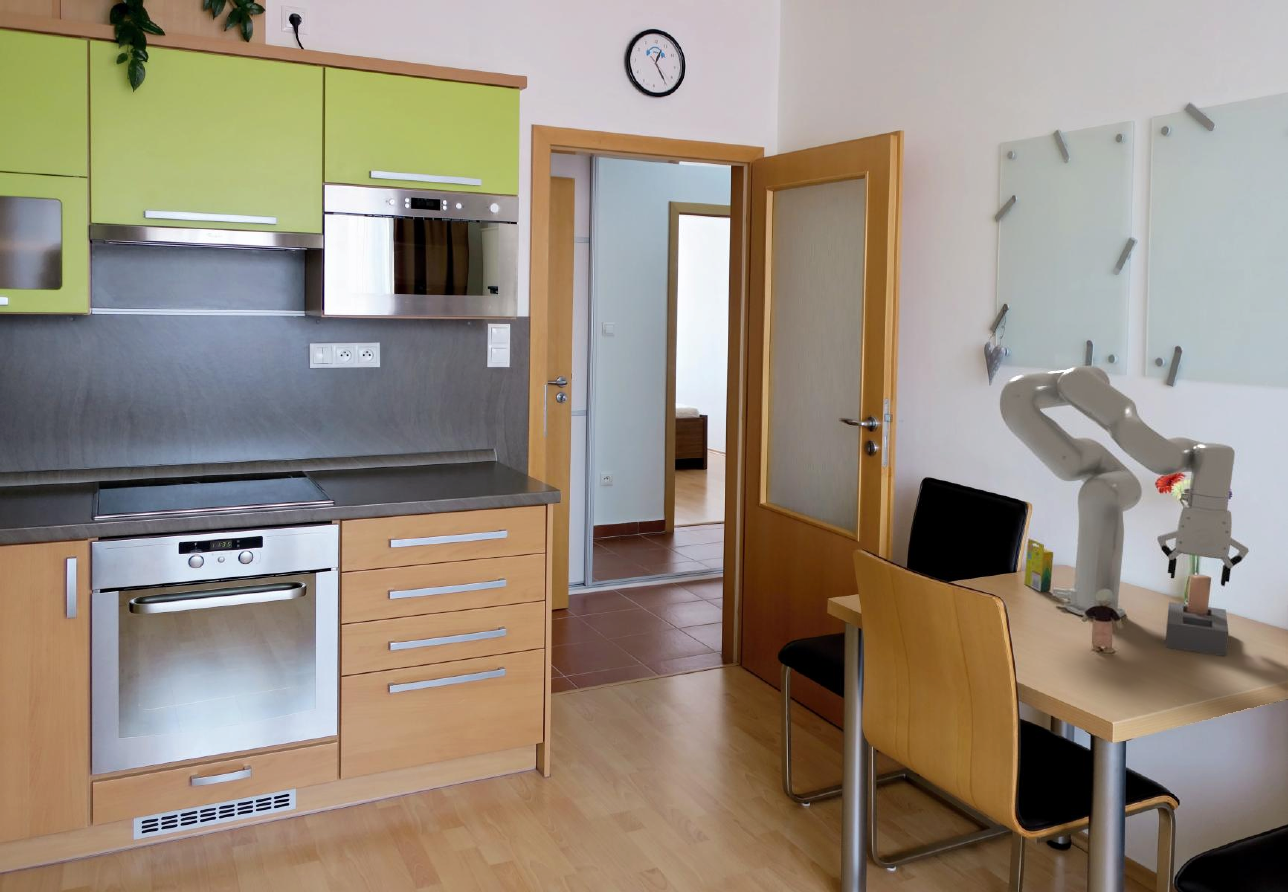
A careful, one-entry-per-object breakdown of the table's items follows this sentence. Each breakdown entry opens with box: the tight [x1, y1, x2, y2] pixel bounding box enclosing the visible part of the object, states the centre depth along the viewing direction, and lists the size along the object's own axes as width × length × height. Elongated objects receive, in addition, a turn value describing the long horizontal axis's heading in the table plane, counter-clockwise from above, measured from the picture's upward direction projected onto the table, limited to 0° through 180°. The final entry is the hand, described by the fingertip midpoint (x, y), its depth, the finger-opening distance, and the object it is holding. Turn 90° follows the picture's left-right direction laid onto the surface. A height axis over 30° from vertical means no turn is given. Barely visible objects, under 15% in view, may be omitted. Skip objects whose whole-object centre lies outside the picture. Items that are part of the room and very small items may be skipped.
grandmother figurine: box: [1081, 589, 1124, 654], centre depth 220 cm, size 8×4×13 cm, turn 71°
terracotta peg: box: [1186, 573, 1212, 615], centre depth 232 cm, size 4×4×11 cm
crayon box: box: [1024, 538, 1054, 593], centre depth 266 cm, size 7×3×12 cm, turn 11°
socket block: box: [1165, 601, 1229, 657], centre depth 229 cm, size 11×18×5 cm, turn 154°
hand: (1197, 580), depth 232 cm, fingers open, 9 cm apart
